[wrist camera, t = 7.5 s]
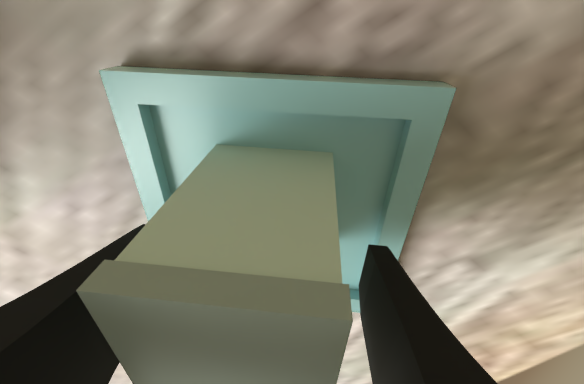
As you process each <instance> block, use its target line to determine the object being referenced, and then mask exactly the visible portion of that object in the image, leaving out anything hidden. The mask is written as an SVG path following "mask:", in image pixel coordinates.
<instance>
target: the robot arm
mask: <svg viewBox="0 0 584 384" xmlns="http://www.w3.org/2000/svg"><path fill="white" fill-rule="evenodd" d="M144 226H145V224H143V225H141V226H139V227H137V228H136V229H134V230H132V231H130V232H129V233H127V234H125V235H124V236H122V237H121V238H119V239H117V240H116V241H114V242H112V243H111V244H109V245H108V246H106V247H104V248H103V249H101V250H100V251H98V252H96V253H95V254H93V255H91V256H90V257H88V258H87V259H85V260H83V261H82V262H80V263H78V264H77V265H75V266H73V267H72V268H70V269H68V270H66V271H65V272H63V273H61V274H60V275H58V276H56V277H54V278H53V279H51V280H49V281H47V282H46V283H44V284H42V285H40V286H39V287H37V288H35V289H33V290H32V291H30V292H28V293H26V294H24V295H22V296H21V297H19V298H17V299H15V300H13V301H11V302H9V303H7V304H5V305H3V306H1V307H0V384H108V383H109V381H110V379H111V377H112V375H113V373H114V371H115V369H116V368H117V366H118V364H119V360H118V358H117V357H116V355H115V353H114V352H113V350H112V348H111V347H110V345H109V344H108V342H107V340H106V339H105V337H104V335H103V334H102V332H101V331H100V329H99V327H98V326H97V324H96V322H95V321H94V319H93V317H92V316H91V314H90V313H89V311H88V309H87V308H86V306H85V304H84V303H83V301H82V299H81V298H80V296H79V295H78V293H77V291H76V290H77V289H78V288H79V287H80V286H81V285H82V283H83V282H84V281H85V280H86V279H87V278H88V277H89V276H90V275H91V274H92V273H93V272H94V270H95V269H96V268H97V267H98V266H99V265H100V264H101V263H102V262H103V261H104V260H115V259H116V258H117V257H118V256H119V254H120V253H121V252H122V251H123V250H124V249H125V248H126V247H127V245H128V244H129V243H130V242H131V241H132V240H133V239H134V237H135V236H136V235H137V234H138V233H139V232H140V231H141V229H142V228H143V227H144ZM359 302H360V315H361V321H362V327H363V332H364V338H365V344H366V349H367V355H368V360H369V366H370V371H371V377H372V382H373V384H497V383H496V382H495V381H494V380H493V378H492V377H491V376H490V375H489V374H488V373H487V372H486V371H485V370H484V369H483V368H482V367H481V365H480V364H479V363H478V362H477V361H476V360H475V359H474V358H473V357H472V356H471V354H470V353H469V352H468V351H467V350H466V349H465V348H464V346H463V345H462V344H461V343H460V342H459V341H458V339H457V338H456V337H455V336H454V335H453V333H452V332H451V331H450V330H449V329H448V327H447V326H446V325H445V324H444V323H443V321H442V320H441V319H440V318H439V316H438V315H437V314H436V313H435V311H434V310H433V309H432V307H431V306H430V305H429V303H428V302H427V301H426V299H425V298H424V297H423V296H422V294H421V293H420V292H419V290H418V289H417V287H416V286H415V285H414V283H413V282H412V281H411V279H410V278H409V276H408V275H407V273H406V272H405V271H404V269H403V268H402V266H401V265H400V263H399V262H398V260H397V259H396V257H395V256H394V254H393V253H392V251H391V250H390V249H389V247H388V246H381V245H370V244H369V245H368V249H367V253H366V257H365V261H364V265H363V269H362V273H361V277H360V281H359Z"/></svg>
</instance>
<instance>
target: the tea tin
mask: <svg viewBox="0 0 584 384" xmlns="http://www.w3.org/2000/svg"><path fill="white" fill-rule="evenodd" d="M76 291H77V293H78V295H79V296H80V298H81V299H82V301H83V303H84V304H85V306H86V308H87V309H88V311H89V313H90V314H91V316H92V317H93V319H94V321H95V322H96V324H97V326H98V327H99V329H100V331H101V332H102V334H103V335H104V337H105V339H106V340H107V342H108V344H109V345H110V347H111V348H112V350H113V352H114V353H115V355H116V357H117V358H118V360H119V362H120V363H121V365H122V366H123V368H124V370H125V371H126V373H127V375H128V376H129V378H130V380H131V381H132V383H133V384H336V383H337V379H338V375H339V371H340V368H341V364H342V360H343V356H344V352H345V349H346V345H347V341H348V337H349V333H350V329H351V326H352V322H353V319H352V309H351V299H350V289H349V284H342V271H341V258H340V244H339V231H338V217H337V204H336V190H335V177H334V163H333V153H331V152H317V151H303V150H289V149H274V148H260V147H246V146H232V145H217V144H216V145H215V146H214V148H213V149H212V150H211V151H210V152H209V153H208V154H207V156H206V157H205V158H204V159H203V160H202V161H201V162H200V163H199V165H198V166H197V167H196V168H195V169H194V170H193V171H192V173H191V174H190V175H189V176H188V177H187V178H186V179H185V181H184V182H183V183H182V184H181V185H180V186H179V187H178V188H177V190H176V191H175V192H174V193H173V194H172V195H171V196H170V198H169V199H168V200H167V201H166V202H165V203H164V204H163V206H162V207H161V208H160V209H159V210H158V211H157V212H156V214H155V215H154V216H153V217H152V218H151V219H150V220H149V221H148V223H147V224H146V225H145V226H144V227H143V228H142V229H141V231H140V232H139V233H138V234H137V235H136V236H135V237H134V239H133V240H132V241H131V242H130V243H129V244H128V245H127V247H126V248H125V249H124V250H123V251H122V252H121V253H120V254H119V256H118V257H117V258H116V259H115V260H104V261H103V262H102V263H101V264H100V265H99V266H98V267H97V268H96V269H95V270H94V272H93V273H92V274H91V275H90V276H89V277H88V278H87V279H86V280H85V281H84V282H83V283H82V285H81V286H80V287H79V288H78V289H77V290H76Z"/></svg>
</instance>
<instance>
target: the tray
mask: <svg viewBox="0 0 584 384" xmlns="http://www.w3.org/2000/svg"><path fill="white" fill-rule="evenodd" d="M99 72H100V75H101V78H102V81H103V84H104V88H105V91H106V94H107V97H108V100H109V103H110V106H111V109H112V112H113V115H114V118H115V121H116V124H117V127H118V130H119V133H120V137H121V140H122V143H123V146H124V149H125V152H126V155H127V158H128V161H129V164H130V167H131V170H132V173H133V176H134V179H135V183H136V186H137V189H138V192H139V195H140V198H141V201H142V204H143V207H144V210H145V213H146V216H147V219H148V221H149V220H150V219H151V218H152V217H153V216H154V215H155V214H156V212H157V211H158V210H159V209H160V208H161V207H162V206H163V204H164V203H165V202H166V201H167V200H168V199H169V198H170V196H171V195H172V194H173V193H174V192H175V191H176V190H177V188H178V187H179V186H180V185H181V184H182V183H183V182H184V181H185V179H186V178H187V177H188V176H189V175H190V174H191V173H192V171H193V170H194V169H195V168H196V167H197V166H198V165H199V163H200V162H201V161H202V160H203V159H204V158H205V157H206V156H207V154H208V153H209V152H210V151H211V150H212V149H213V148H214V146H215V145H216V144H217V145H232V146H246V147H260V148H274V149H289V150H303V151H317V152H331V153H333V163H334V177H335V190H336V204H337V217H338V231H339V244H340V258H341V271H342V284H349V289H350V299H351V309H352V312H358V313H360V302H359V281H360V277H361V273H362V269H363V265H364V261H365V257H366V253H367V249H368V245H369V244H370V245H381V246H388V247H389V249H390V250H391V251H392V253H393V254H394V256H395V257H396V259H397V260H398V259H399V256H400V253H401V250H402V247H403V244H404V241H405V238H406V235H407V232H408V229H409V226H410V223H411V220H412V217H413V214H414V212H415V209H416V206H417V203H418V200H419V197H420V194H421V191H422V188H423V185H424V182H425V179H426V176H427V173H428V170H429V167H430V164H431V161H432V159H433V156H434V153H435V150H436V147H437V144H438V141H439V138H440V135H441V132H442V129H443V126H444V123H445V120H446V117H447V114H448V111H449V108H450V105H451V103H452V100H453V97H454V94H455V91H456V88H455V87H453V86H451V85H449V84H447V83H445V82H438V81H417V80H397V79H376V78H355V77H335V76H314V75H293V74H273V73H252V72H231V71H211V70H190V69H169V68H149V67H128V66H117V67H112V68H107V69H103V70H99Z"/></svg>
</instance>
